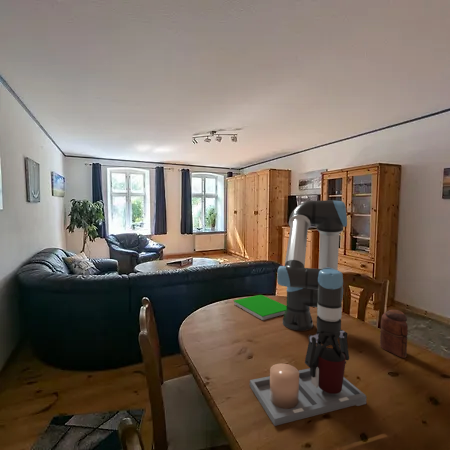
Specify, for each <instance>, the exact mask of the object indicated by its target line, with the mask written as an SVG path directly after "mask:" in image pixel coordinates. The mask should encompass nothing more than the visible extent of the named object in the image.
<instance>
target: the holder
mask: <svg viewBox="0 0 450 450" xmlns="http://www.w3.org/2000/svg"><path fill="white" fill-rule="evenodd" d="M298 371H299V398H298V404H297V406H296V407H294V408H291V409H283V408H279V407H277V406H275V405H274V404H273V403H272V402H271V401H270V375H269V376H264V377H260V378H254V379H249V388H251V389H250V390H252V392H253V393H254V396H255V397H256V399H257V400H258V402H259V404H260V405H261V407H262V409H263V410H264V411H265V413H266V414H267V416H268V418H269V420H270V421H271V423H272V424H273V426H274V427H276V426H279V425H284V424H287V423H291V422H295V421H298V420H299V421H300V420H302V419H303V420H304V419H306V418H307V419H308V418H310V417H314V416H315V417H316V416H318V415H323V414H327V413H330V412H333V411H337V410H341V409H346V408H349V407H353V406H357V407H360V406H363V405H366V404H367V395H366V394H365V393H364V392H363V391H362V390H361V389H359V388H358V387H356V385H354V384H353V383H352V382H350V380H348V379H347V378H346V377H345V376H344V377H343V385H342V390H341V392H340V393H337V394H331V393H327V392H325V391H323V390H322V389H320V388H319V386H318V388H316V387H315V386H314V385H313V384H312V383H311V381H312V376H311V375H310V367H309V368H304V369H299V370H298Z"/></svg>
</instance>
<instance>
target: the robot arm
mask: <svg viewBox="0 0 450 450" xmlns="http://www.w3.org/2000/svg"><path fill="white" fill-rule="evenodd" d="M288 220H289V221H288V226H289V228H290V229H289V235H288V240H287V249H286V253H285V254H286V255H285V258H284V260H285V261H284V265H279V266H278V268H277V272H276V273H277V275H276V279H277V281H276V282H277V284H278V285H279V286H281V287H286V311H285V314H284V315H283V317H282V325H283V326H284V327H285V328H287V329H290V330H293V331H299V332H300V331H301V332H302V331H303V332H304V331H309V330H312V329H313V327H314V323H313V317H312V315H311V310H310V309H311V308H317V309H316V315H317V316H316V329H317V330H316V333H315V334H313V335H312V334H309V335H308V337H307V338H308V345H307V348H306V355H305V358H304V359H305V360H304V363H305V365H306V366H307V367H309V368H310V375H311V376H312V381H311V383H312V384H313V385H314V386H315V387H316V388H318V383H319V368H318V367H317V366H318V363H319V356H320V357H321V356H322V354H323V351H324V350H325V349H326V347H327V348H328V346H331V348H333V349H334V351H335V352H336V354H337V355H338V356H339V357H340V354H341V352H342V353H343V354H344V355H345V357H346V361H345V365H346V364H347V361H349V360H350V354H349V347H348V346H349V345H348V336H349V335H348V332H346V331H345V330H343V329H342V312H343V303H342V302H343V295H344V287H343V285H344V279H343V278H344V277H343V276H344V275H343V272H342V271H340V270H338V268H339V267H338V266H339V253H340V252H339V246H340V234H341V233H342V232H343V231H344V228H345V227H347V226H348V218H347V208H346V204H345V202H344V201H342V200H334V199H332V200H331V199H330V200H329V199H328V200H306V201H303V202H302V203H300V204H299V205H297V206H296V207H295V208H294V209H293V210H292V212H291V213H290V216H289V219H288ZM311 226H315V227H316V230H317V231H318V233H319V248H318V249H319V253H318V254H319V256H318V268H311V267H310V268H309V267H305V266H306V256H307V255H306V253H307V244H308V243H307V242H308V233H309V232H308V231H309V228H311Z"/></svg>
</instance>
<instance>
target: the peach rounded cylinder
mask: <svg viewBox="0 0 450 450" xmlns="http://www.w3.org/2000/svg"><path fill="white" fill-rule="evenodd" d="M269 376H270V401H271V402H272V403H273V404H274V405H275V406H277V407H279V408H283V409H291V408H294V407H296V406H297V404H298V398H299V370H298V369H297V367H295V366H294V365H291V364H288V363H281V362H280V363H276V364H273V365H272V366H271V367H270V368H269Z"/></svg>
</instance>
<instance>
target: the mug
mask: <svg viewBox="0 0 450 450" xmlns="http://www.w3.org/2000/svg"><path fill="white" fill-rule="evenodd" d="M345 361H346V362H347V360H346V357H345V355H344V354H343V353H342V352H341V354H340V357H339V356H338V355H337V354H336V352H335V351H334V349H333V347H328V346H327V347H326V349H325V350H324V351H323V354H322V356H321V357H320V356H319V363H318V366H317V367H318V368H319V383H318V386H319V388H320V389H322V390H323V391H325V392H327V393H331V394H337V393H340V392H341V390H342V385H343V377H345V370H346V369H345V368H346V364H345Z"/></svg>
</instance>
